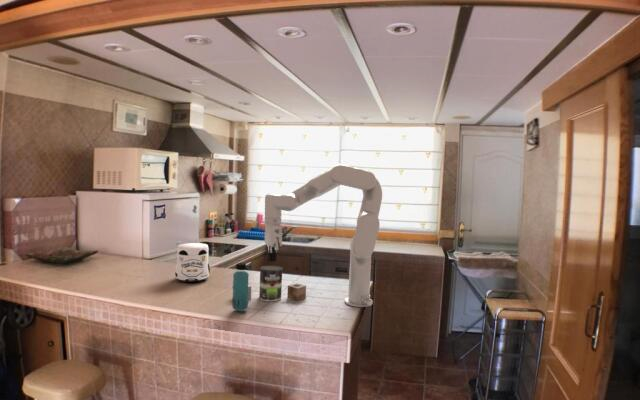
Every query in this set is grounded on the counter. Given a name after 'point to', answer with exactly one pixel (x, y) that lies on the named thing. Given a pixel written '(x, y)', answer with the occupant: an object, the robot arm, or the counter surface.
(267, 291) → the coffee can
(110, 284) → the counter surface
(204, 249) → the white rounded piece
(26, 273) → the counter surface
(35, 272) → the counter surface
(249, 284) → the grey dotted block
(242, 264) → the beverage bottle
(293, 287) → the walnut dotted block
